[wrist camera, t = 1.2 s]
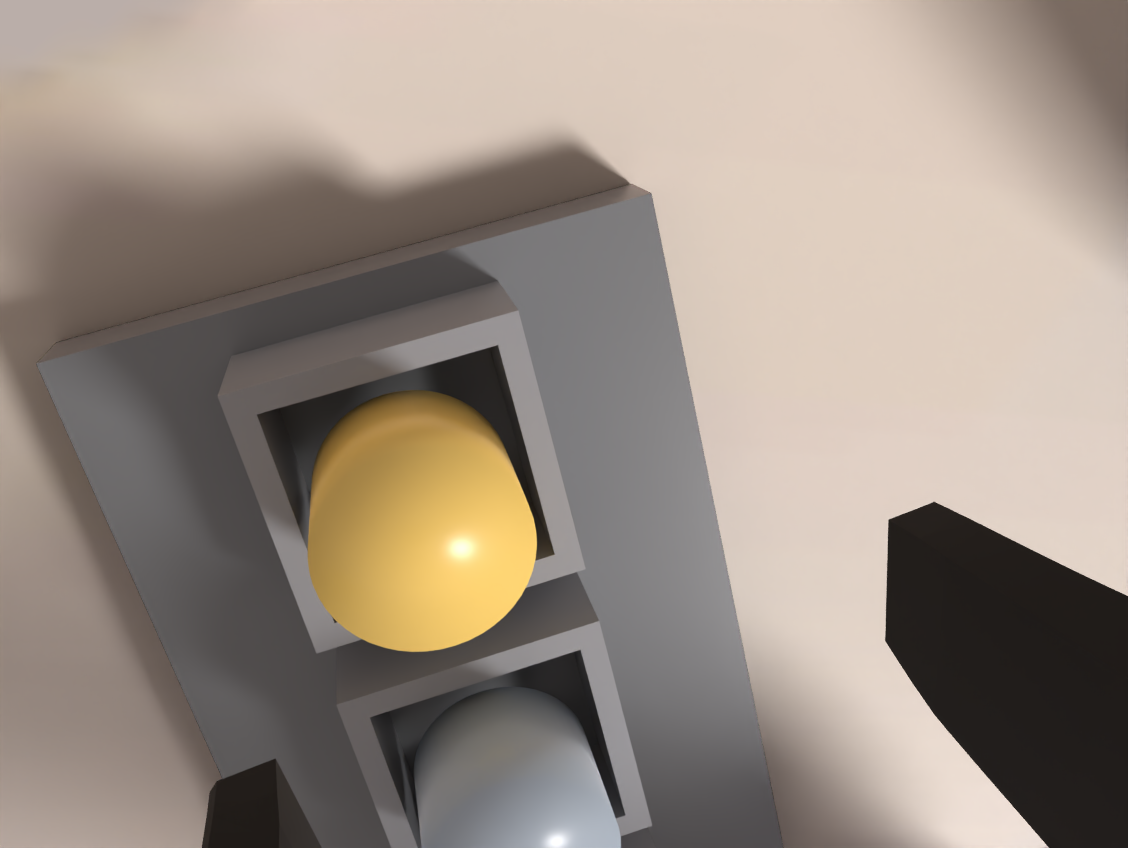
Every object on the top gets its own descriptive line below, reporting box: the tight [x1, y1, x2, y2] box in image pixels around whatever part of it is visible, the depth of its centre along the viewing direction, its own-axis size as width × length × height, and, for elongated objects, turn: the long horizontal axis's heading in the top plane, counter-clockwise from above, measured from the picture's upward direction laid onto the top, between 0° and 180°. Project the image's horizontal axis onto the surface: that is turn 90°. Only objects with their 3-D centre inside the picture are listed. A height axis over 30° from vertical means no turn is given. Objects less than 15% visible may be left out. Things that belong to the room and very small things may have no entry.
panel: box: [36, 184, 783, 848], centre depth 23 cm, size 20×12×4 cm, turn 13°
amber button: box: [308, 390, 537, 652], centre depth 18 cm, size 4×4×3 cm
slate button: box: [414, 687, 621, 848], centre depth 20 cm, size 4×4×3 cm
